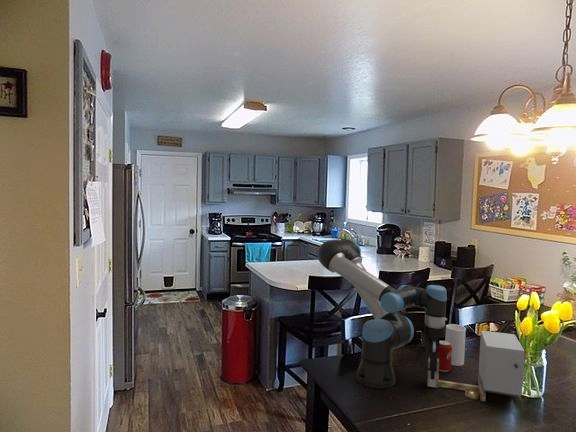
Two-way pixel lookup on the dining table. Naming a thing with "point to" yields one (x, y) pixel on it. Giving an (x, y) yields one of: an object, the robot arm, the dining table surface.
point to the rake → (456, 385)
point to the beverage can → (444, 356)
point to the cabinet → (501, 363)
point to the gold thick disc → (472, 394)
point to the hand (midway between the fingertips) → (431, 383)
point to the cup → (456, 343)
